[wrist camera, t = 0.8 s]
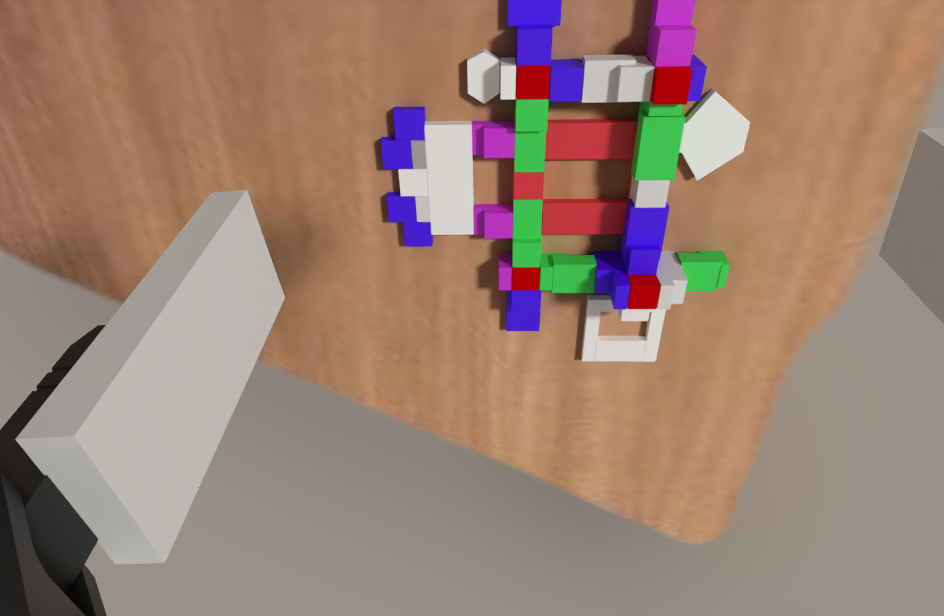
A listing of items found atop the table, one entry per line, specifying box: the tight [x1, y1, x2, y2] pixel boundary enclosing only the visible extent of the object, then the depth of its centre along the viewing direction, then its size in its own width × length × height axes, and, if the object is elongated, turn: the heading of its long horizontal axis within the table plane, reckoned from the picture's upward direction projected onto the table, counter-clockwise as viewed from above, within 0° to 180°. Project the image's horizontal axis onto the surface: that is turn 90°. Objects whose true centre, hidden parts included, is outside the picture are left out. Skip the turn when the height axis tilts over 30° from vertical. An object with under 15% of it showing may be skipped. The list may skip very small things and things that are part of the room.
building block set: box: [381, 0, 750, 361], centre depth 36 cm, size 25×20×4 cm
